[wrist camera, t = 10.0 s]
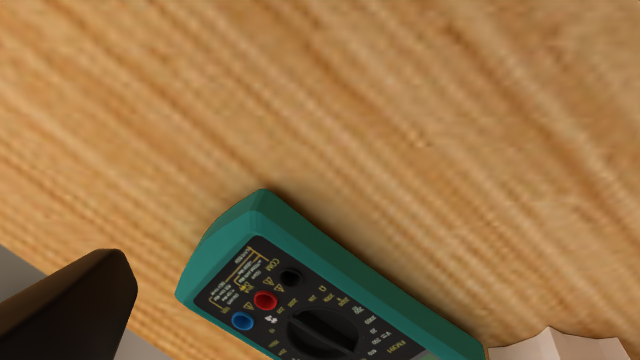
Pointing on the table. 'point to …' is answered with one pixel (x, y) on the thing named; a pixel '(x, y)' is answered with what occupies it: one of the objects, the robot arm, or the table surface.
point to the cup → (560, 348)
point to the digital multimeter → (307, 293)
